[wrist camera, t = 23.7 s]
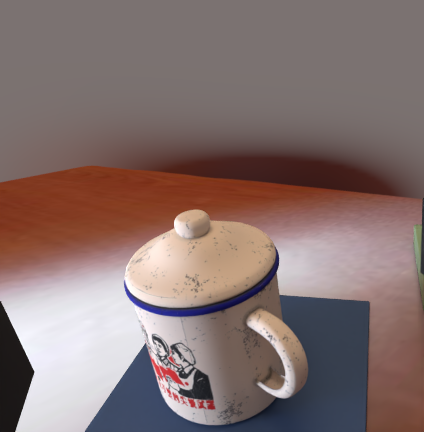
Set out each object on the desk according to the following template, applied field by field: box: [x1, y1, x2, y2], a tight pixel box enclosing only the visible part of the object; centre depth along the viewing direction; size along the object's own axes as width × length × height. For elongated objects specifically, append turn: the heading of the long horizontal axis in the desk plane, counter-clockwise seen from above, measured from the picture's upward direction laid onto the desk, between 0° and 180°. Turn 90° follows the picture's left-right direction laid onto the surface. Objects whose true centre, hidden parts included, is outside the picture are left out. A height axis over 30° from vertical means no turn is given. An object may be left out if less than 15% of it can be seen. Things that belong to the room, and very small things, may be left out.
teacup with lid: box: [124, 210, 308, 425], centre depth 24 cm, size 12×9×12 cm
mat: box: [85, 295, 369, 432], centre depth 26 cm, size 20×16×1 cm
